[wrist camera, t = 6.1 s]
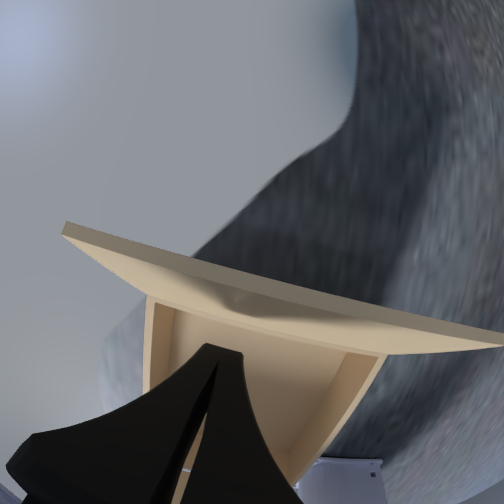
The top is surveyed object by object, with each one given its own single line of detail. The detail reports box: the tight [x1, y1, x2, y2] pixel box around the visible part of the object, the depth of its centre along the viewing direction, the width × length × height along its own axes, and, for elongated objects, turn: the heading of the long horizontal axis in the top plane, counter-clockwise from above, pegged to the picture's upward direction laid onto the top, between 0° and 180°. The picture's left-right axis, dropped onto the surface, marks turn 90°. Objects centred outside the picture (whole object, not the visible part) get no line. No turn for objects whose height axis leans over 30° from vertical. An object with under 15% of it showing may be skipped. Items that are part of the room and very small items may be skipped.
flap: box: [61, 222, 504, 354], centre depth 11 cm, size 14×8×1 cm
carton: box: [143, 294, 388, 488], centre depth 20 cm, size 14×18×5 cm
